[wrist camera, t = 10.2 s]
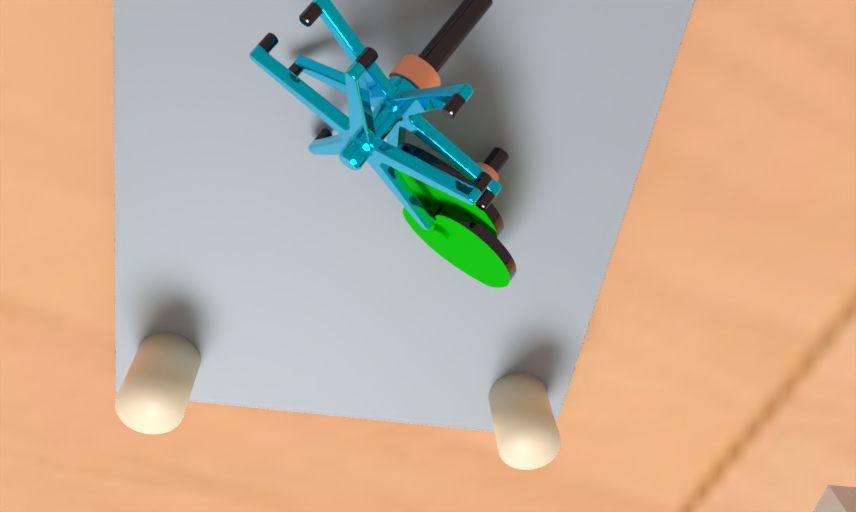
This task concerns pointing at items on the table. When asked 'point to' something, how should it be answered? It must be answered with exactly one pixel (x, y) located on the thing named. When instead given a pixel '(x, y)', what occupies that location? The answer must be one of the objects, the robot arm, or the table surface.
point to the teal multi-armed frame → (394, 113)
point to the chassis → (369, 213)
